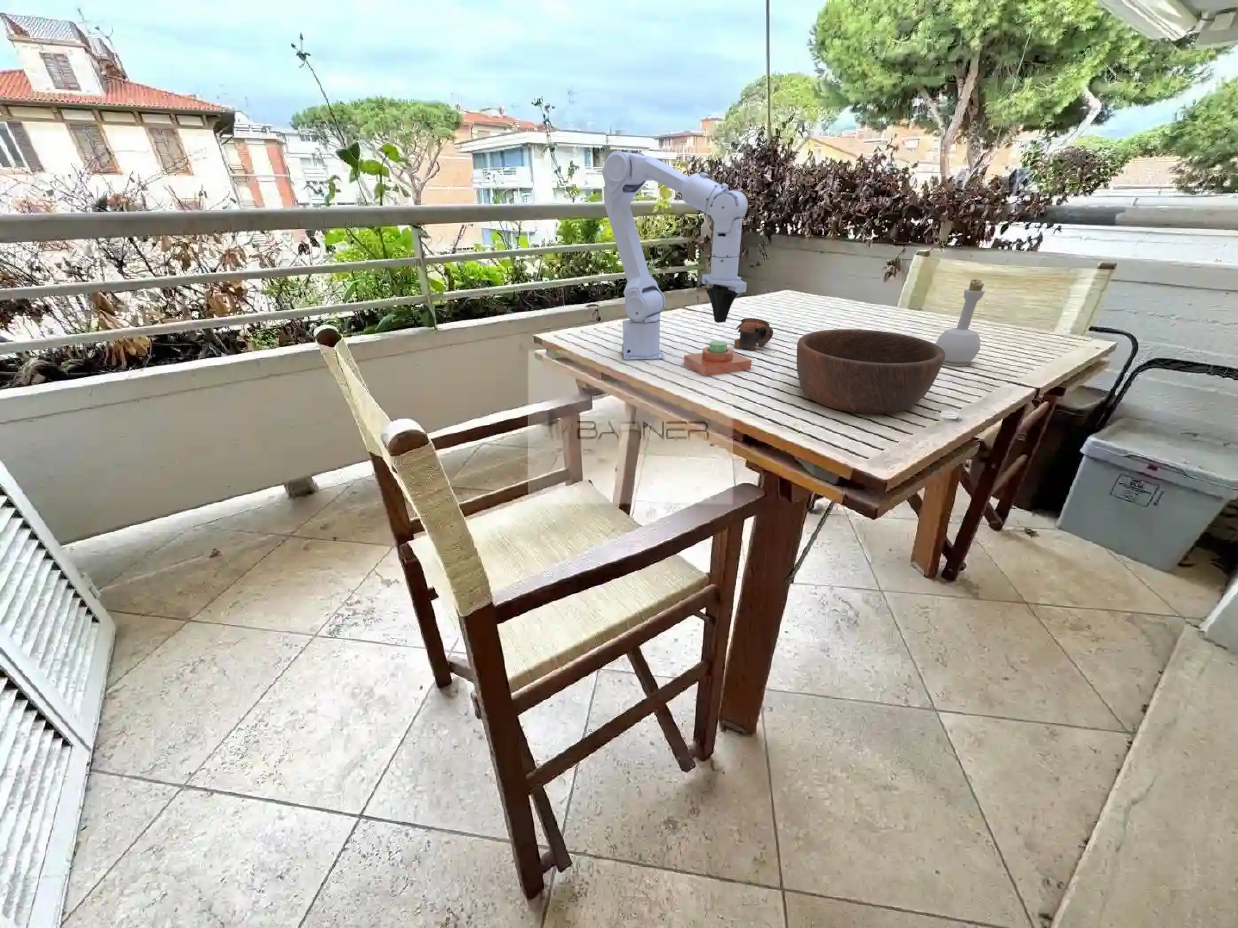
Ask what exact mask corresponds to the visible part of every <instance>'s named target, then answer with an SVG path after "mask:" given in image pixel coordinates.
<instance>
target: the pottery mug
mask: <svg viewBox="0 0 1238 928" xmlns="http://www.w3.org/2000/svg"><path fill="white" fill-rule="evenodd" d="M740 322H741V323H740V324H739V325H737V327H736V328H735V329H736V330H738V331H737V333H739V338H737V339H734V348H735V349H739V348H740V349H745V350H749V351H755V349H756V346H757V345H758V347H759V348H763V347H765V345H767V344H768V343H769V342H770V341H771V339H772V338H773V336H774V330H773V328H772V327H771V325H770V323H769V322H768V321H766V320H764V319H760V318H756V317H746V318H742V319H741V320H740Z"/></svg>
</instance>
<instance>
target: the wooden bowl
mask: <svg viewBox="0 0 1238 928" xmlns="http://www.w3.org/2000/svg"><path fill="white" fill-rule="evenodd" d="M944 360H945V352H944V350H943V349H942V348H940V347H939V346H937V345H936V344H935V343H934V342H931V341H929V340H927V339H922V338H920V337H916V336H911V335H907V334H902V333H896V332H891V331H882V330H873V329H860V328H859V329H856V328H855V329H853V328H845V329H844V328H842V329H841V328H839V329H837V328H835V329H824V330H818V331H813V332H809V333H807V334H804V335H802V336H801V337H800V338H799V339H798V341H797V345H796V373H797V378H798V382H799V385H800V387H801V390H802V391H803V393H804V394H805V396H806V397H808V398H809V399H810V400H812V401H813V402H816V403H817V404H819V405H821V406H824V407H827V408H830V409H834V410H838V411H842V412H845V413H851V414H852V413H853V414H862V415H890V414H897V413H902V412H904V411H907V410H909V409H912V408H913V407H915V405H917V404H918V403H920V401H921V400H922V399H923V398H924V397H925V396H926V394H928V392H929V391H930V389H931V388H932V386H933V384H934V382H935V381H936V379H937V377H938V375H939V373H940V371H941V368H942V367H943V365H944V364H943V362H944Z"/></svg>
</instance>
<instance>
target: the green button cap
mask: <svg viewBox="0 0 1238 928" xmlns="http://www.w3.org/2000/svg"><path fill="white" fill-rule="evenodd" d="M708 344H709V345H708V347H709V351H710V352H714V353H724V352H727V347H728V342H727V341H725V340H711V341H709V343H708Z"/></svg>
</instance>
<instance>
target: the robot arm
mask: <svg viewBox="0 0 1238 928" xmlns="http://www.w3.org/2000/svg"><path fill="white" fill-rule="evenodd" d="M601 174H602V177H603V181H604V195H603V196H604V197H603V198H604V199H603V200H604V201H603V203H604V207H605V211H606V214H607V217H608V220H609V224H610V227H611V231H612V234H613V238H614V241H615V244H616V249H617V251H618V255H619V258H620V261H621V265H622V268H623V272H624V276H625V279H626V281H627V282H626V285H625V288H624V290H623V296H624V311H625V314H626V315H627V317H628V318H629V319H625V320H622V343H621V351H622V353H623V360H625V361H626V360H627V361H628V360H629V361H630V360H662V359H663V355H662V351H661V349H660V343H661V342H660V339H661V338H660V337H661V336H660V333H661V313H662V312H663V311H664V310H665V307H666V296H665V295H664V292H662V291H661V289H660V288H659V285H658V282H657V281H656V279H655V278H653V277H652V276H651V275H650V270H649V268H648V265H647V261H646V258H645V253H644V251H643V247H642V243H641V240H640V236H639V233H638V229H637V226H636V223H635V219H634V215H633V211H632V208H631V203H632V202H633V200H634V197H635V196H636V194H637V193H638V192H639V191H640V190H641V188H643V186H644V185H645V184H646V182H648V181H654V182H656V183H658V184H661V185H662V186H665V187H667V188H670V189H671V190H674V191H677V192H679V193H680V194H681V197H682V200H683V202H684V203H685V204H687V205H689V206H691V207H692V208H694V209H696V210H699V211H701V212H702V213H704V214H707V215H708V216H710V218H711V220H712V221H713V232H712V243H711V245H712V246H711V257H710V258H711V259H710V272H709V273H705V274H703V273H702V277H701V284H703V285H710V286H712V287H711V288H706V294H707V296H708V298H709V300H710V303H711V308H712V314H713V320H714V322H715V323H717V324H719V323H720V324H721V323H726V321H727V319H728V315H729V313H730V310H731V307H732V305H733V303H734V301H735V299H736V297H737V296H738V295H739V294H742V293H747V285H748V283H747V282H746V281H744V280H742V277H741V276H738V273H739V262H740V253H741V241H742V229H743V218H744V217H745V216H746V215H747V212H748V208H749V203H748V202H749V201H748V199H747V197H746V195H745V194H744V193H743V192H742V191H741V190H740V189H731V190H729V184H727V183H723V182H722V184H721V183H719V182H716V181H715V180H713V179H711V178H709V177H710V175H709V173H706V172H704V171H703V172H700V173H699V172H696V173H693V174H692V175H689V176H688V175H687V174H684V173H683V172H682V171H679V170H677V169H676V168H674V167H672V166H670V165H669V164H667V163H665V162H664V161H661V160H659V159H658V158H655V157H653V156H650V155H645V154H644V153H642V152H635V153H634V152H625V151H622V150H614V151H612V152H611V153H610V154H608V156H607V158H606V160H605V162H604V165H603V167H602V170H601Z"/></svg>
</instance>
